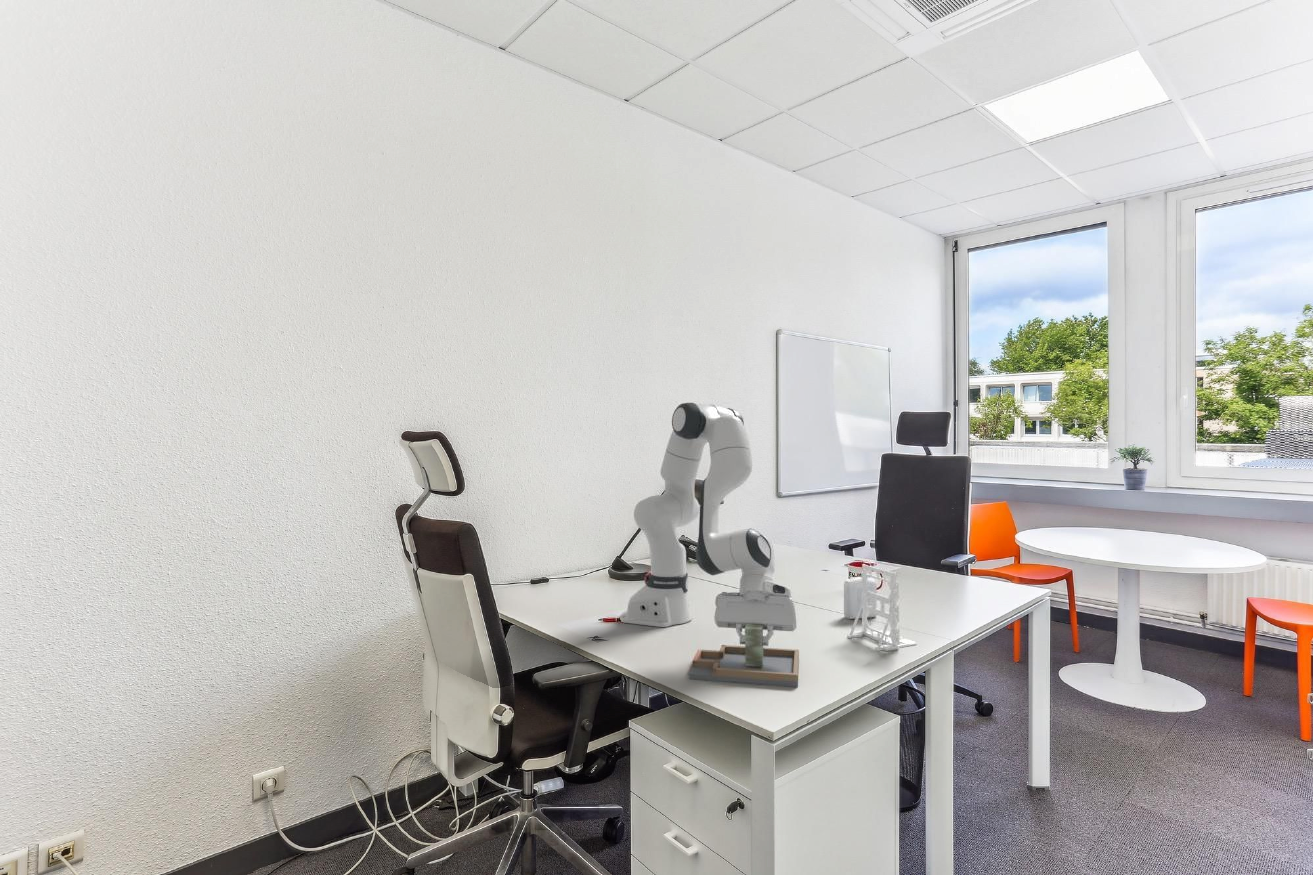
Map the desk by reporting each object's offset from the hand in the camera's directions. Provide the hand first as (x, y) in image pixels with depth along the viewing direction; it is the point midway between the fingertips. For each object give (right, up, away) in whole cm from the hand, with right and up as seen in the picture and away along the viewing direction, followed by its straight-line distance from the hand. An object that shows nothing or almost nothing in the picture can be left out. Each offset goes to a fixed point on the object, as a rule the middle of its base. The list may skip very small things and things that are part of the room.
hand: (753, 644), depth 152 cm
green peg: (0, -5, +1) cm, 5 cm away
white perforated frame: (+38, -6, +20) cm, 44 cm away
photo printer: (+40, -6, +42) cm, 58 cm away
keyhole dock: (-1, -6, +1) cm, 7 cm away
